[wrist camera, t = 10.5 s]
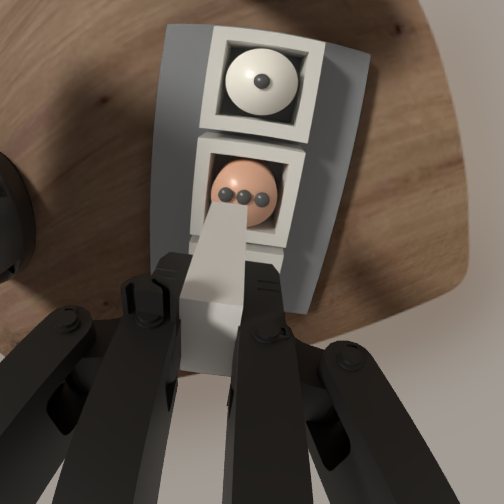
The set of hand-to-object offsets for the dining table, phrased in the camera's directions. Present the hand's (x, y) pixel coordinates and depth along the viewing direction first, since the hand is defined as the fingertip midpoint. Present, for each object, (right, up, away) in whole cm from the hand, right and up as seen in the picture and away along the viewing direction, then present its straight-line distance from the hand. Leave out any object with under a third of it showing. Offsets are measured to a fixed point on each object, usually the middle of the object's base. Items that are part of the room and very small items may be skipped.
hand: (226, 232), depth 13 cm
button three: (+1, +4, +8) cm, 9 cm away
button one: (+2, +10, +4) cm, 11 cm away
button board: (+1, +5, +9) cm, 11 cm away
